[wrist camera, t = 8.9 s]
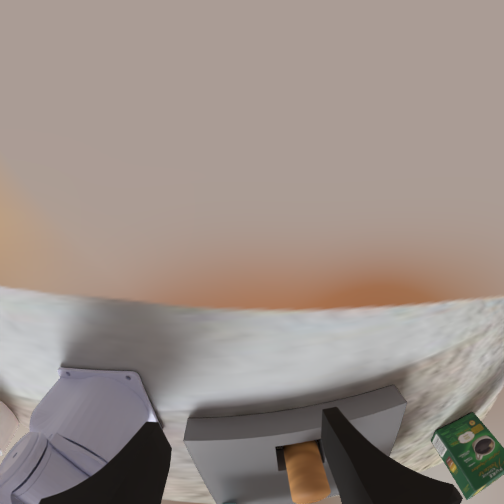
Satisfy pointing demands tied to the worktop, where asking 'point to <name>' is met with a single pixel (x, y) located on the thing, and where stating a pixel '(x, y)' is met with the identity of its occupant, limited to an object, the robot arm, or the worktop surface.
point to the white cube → (6, 426)
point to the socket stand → (280, 444)
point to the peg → (306, 472)
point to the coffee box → (470, 454)
